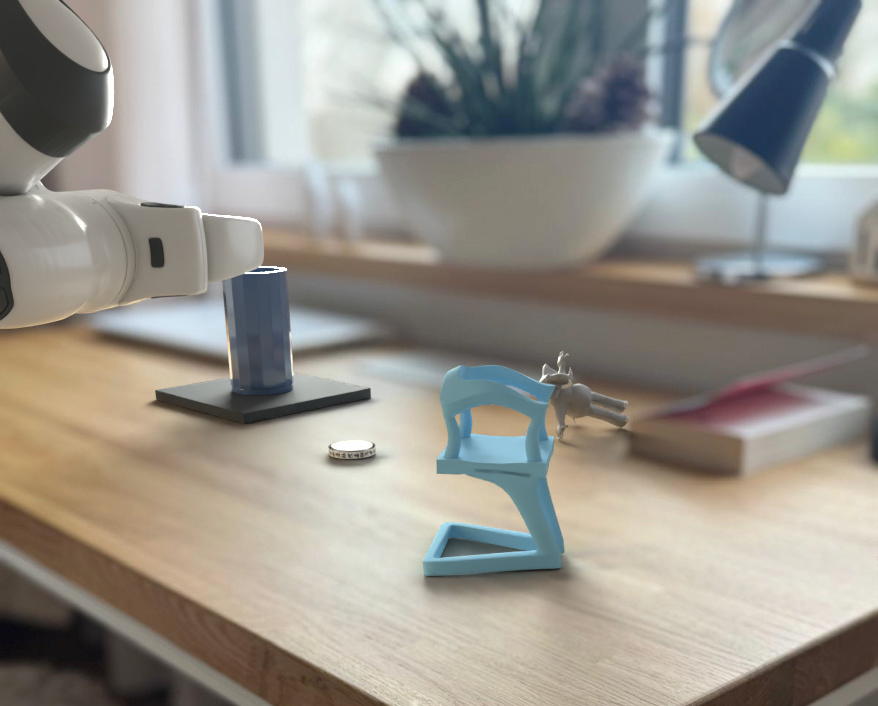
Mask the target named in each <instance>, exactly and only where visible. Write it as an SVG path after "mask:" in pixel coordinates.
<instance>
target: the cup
mask: <svg viewBox="0 0 878 706" xmlns="http://www.w3.org/2000/svg"><path fill="white" fill-rule="evenodd" d="M288 281H289V279H288V269H287V268H285V267H277V266H260V267H259V268H257V269H255V270H252V271H250V272H247V273H245V274H242V275H239V276H236V277H233V278H230V279H227V280H223V281H221V284H222V297H223V308H224V320H225V331H226V332H225V333H226V345H227V355H228V356H227V357H228V369H229V377H230V381H231V386H232V391H233V392H234V393H237V394H241V395H253V396H261V395H274V394H281V393H285V392H289V391H291V390H293V388H294V383H293V382H294V375H293V372H294V362H293V345H292V328H291V314H290V297H289V296H290V295H289V282H288Z"/></svg>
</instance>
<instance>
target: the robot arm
mask: <svg viewBox="0 0 878 706" xmlns="http://www.w3.org/2000/svg"><path fill="white" fill-rule="evenodd" d="M113 73H114V72H113V66H112V62H111V58H110V56H109V54H108V52H107V50H106V47H105V46H104V44H103V43H102V41H101V40H100V39H99V37H98V36H97V34H96V33H95V32H94V31H93V30H92V29H91V28H90V27H89V25H88V24H87V23H86V22H85V21H84V20H83V19H82V18H81V17H80V15H78V14H77V13H76V12H75V11H74V10H73V9H72V8H71V7H70V6H69V5H68V4H67V3H66V2H65V1H64V0H0V330H9V329H20V328H28V327H34V326H40V325H45V324H49V323H54V322H58V321H63V320H65V319H68V318H69V317H71V316H72V315H74V314H83V315H84V314H91V313H96V312H100V311H104V310H108V309H109V310H110V309H113V308H118V307H125V306H129V305H134V304H136V303H139V302H143V301H145V300H148V299H161V298H162V299H163V298H175V297H187V296H196V295H201V294H204V293H206V292H207V291H208V284H211V283H213V284H214V283H217V282H222V281H223V280H227V279H230V278H233V277H236V276H239V275H242V274H245V273H247V272H250V271H252V270H255V269H257V268H259V267H262V265H263V263H264V260H265V259H264V258H265V247H264V245H265V244H264V234H263V227H262V224H261V223H260V222H259V221H258V220H257V219H255V218H251V217H243V216H233V215H220V214H211V213H209V214H208V213H202V212H201V211H202V210H201V209H200V208H199V207H197V206H186V205H185V204H172V203H162V202H157V201H149V200H147V199H146V200H145V199H142V198H139V197H136V196H133V195H130V194H129V195H128V194H124V193H121V192H119V191H116V190H113V189H108V188H107V189H106V188H95V189H93V188H92V189H81V190H67V191H65V190H64V191H53V190H50V189H49V188H47V187H46V186H44V184H43V183H42V181H41V180H42V179H43V178H44V177H45V176H46V175H48V174H49V173H50V171H52V170H53V169H55V167H56V166H57V165H58V164H59V163H61V162H62V161H63V160H64V159H65V158H67V157H69V156H71V155H73V154H74V153H76V151H77V150H78V151H79V149H80V148H82V147H83V146H85V145H86V144H87V143H89V142H90V141H92V140H93V139H94V138H95V137H97V136H98V135H99V134H101V133H102V132H104V131H105V130H106V129H107V128H108V127H109V125H110V124H111V121H112V117H113V111H114V110H113V109H114V95H115V91H114V90H115V89H114V86H115V85H114V74H113Z"/></svg>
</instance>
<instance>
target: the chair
mask: <svg viewBox="0 0 878 706" xmlns="http://www.w3.org/2000/svg"><path fill="white" fill-rule="evenodd" d="M539 381H540V380H536V379H534V378H532V377H529V376H527V375H526V374H523V373H522V372H519V371H517V370H515V369H513V368H509V367H506V366H505V365H497V364H488V365H486V364H485V365H478V366H477V365H476V366H465V365H458V366H456V367H454V368H451V369H449V370H448V371H447V372H446V374H445V375H444V378H443V381H442V385H441V388H440V392H439V402H440V407H441V412H442V416H443V419H444V423H445V426H446V431H447V442H446V446H445V447H444V449H443V450H442V451H441V452H440V453H439V455H438V456H437V458H436V460H435V461H436V474H437V475H455V476H456V475H466V476H468V477H471V478H474V479H478V480H482V481H485V482H489V483H491V484H494V485H495V486H498V487H499V488H500V489H502V490H503V491H504V492H505V493H506V494H507V495H508V496H509V497H510V499H511V501H512V502H513V504H514V505H515V507H516V508H517V511H518V512H519V514H520V516H521V518H522V520H523V521H524V524H525V526H526V528H527V530H528V532H529V533H528V532H522V531H515V530H510V529H504V528H498V527H497V528H496V527H491V526H484V525H478V524H471V523H465V522H458V521H457V522H456V521H446V522H443V523H442V524H441V525H440V527H439V529H438V530H437V533H436V534H435V536H434V538H433V540H432V542H431V544H430V545H429V548H428V550H427V552H426V554H425V555H424V557H423V560H422V568H423V569H422V570H423V575H424V576H426V577H437V576H453V575H470V574H480V573H481V574H482V573H495V572H496V573H497V572H512V571H524V570H529V571H530V570H554V569H555V570H556V569H561V568H562V567H563V561H562V555H563V554H564V553H565V552H566V551H565V541H564V537H563V533H562V530H561V527H560V523H559V519H558V516H557V513H556V509H555V506H554V503H553V499H552V495H551V492H550V487H549V483H548V479H547V475H548V472H549V468H550V463H551V459H552V457H553V454H554V451H555V436H554V435H548V433H547V429H546V428H547V427H546V418H547V417H546V416H547V412H548V407H549V405H550V400H551V399H550V397H551V395H552V393H553V390H554V388H555V385H551V384H545V383H542V382H539ZM512 387H514V388H516V389H519V390H522V391H523V392H525V393H527V394H530V395H531V396H533V397H534V398H536V399H537V400H536V399H533V398H531V397H528V396H526V395H525V394H522V393H521V392H519V391H517V390H516V389H514V388H512ZM491 405H493V406H498V407H499V406H501V407H505V408H507V409H510V410H513V411H516V412H518V413H519V414H522V415H524V416H525V417H527V418H529V419H530V422H529V424H528V427H527V430H526V434H525V435H520V436H519V435H517V436H512V435H511V436H509V435H490V434H481V433H472V430H473V414H472V410H471V409H474V408H477V407H482V406H491ZM457 415H459V424H458V421H457V419H456V416H457ZM450 539H461V540H466V541H472V542H478V543H483V544H488V545H493V546H499V547H504V548H509V549H515V550H519V551H508V552H495V553H483V554H470V555H459V556H447V557H446V556H445V557H441V556H442V554H443V553H444V551H445V548H446V546H447V544H448V542H449V540H450Z"/></svg>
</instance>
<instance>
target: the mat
mask: <svg viewBox="0 0 878 706" xmlns="http://www.w3.org/2000/svg"><path fill="white" fill-rule="evenodd" d="M293 375H294V382H293V383H294V388H293V390H291V391H289V392H285V393H281V394H274V395H261V396H253V395H241V394H237V393H234V392H233V391H232V386H231V381H230V376H229V377H223V378H217V379H211V380H205V381H199V382H194V383H189V384H183V385H177V386H171V387H166V388H159V389H155V391H154V392H155V393H154V394H155V400H157V401H159V402H160V401H161V402H164V403H169V404H171V405H176V406H179V407H183V408H187V409H190V410H193V411H196V412H200V413H204V414H208V415H210V416H211V415H212V416H214V417H215V416H216V417H219V418H222V419H226V420H230V421H234V422H236V423H241V424H250V423H253V422H255V423H256V422H259V421H263V420H268V419H273V418H278V417H283V416H289V415H293V414H297V413H303V412H307V411H312V410H316V409H321V408H326V407H331V406H336V405H341V404H346V403H351V402H355V401H360V400H364V399H370V398H371V397H372V389H371V387H367V386H363V385H357V384H353V383H348V382H343V381H339V380H334V379H329V378H324V377H319V376H315V375H310V374H306V373H301V372H295V371H293Z"/></svg>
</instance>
